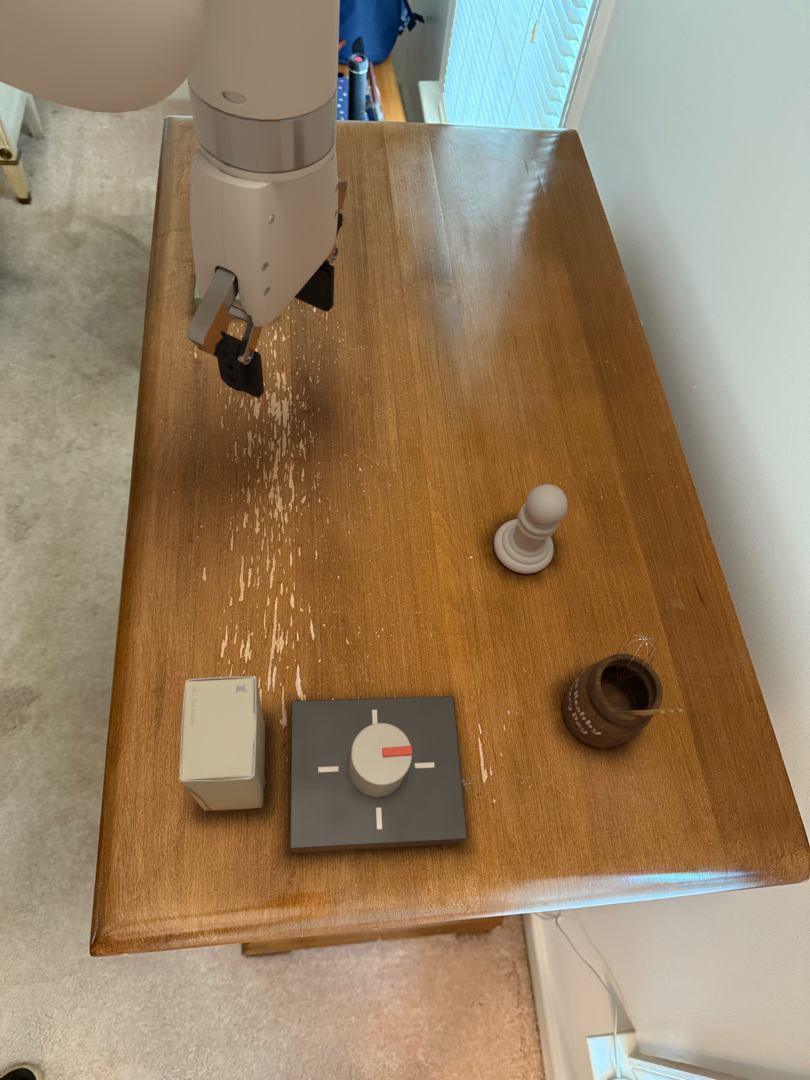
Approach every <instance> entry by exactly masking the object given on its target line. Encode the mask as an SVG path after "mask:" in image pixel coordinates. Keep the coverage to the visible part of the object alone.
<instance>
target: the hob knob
mask: <svg viewBox="0 0 810 1080" xmlns="http://www.w3.org/2000/svg"><path fill="white" fill-rule="evenodd" d="M411 761H412V746H411V744H410V742H409V740H408V738H407V736H406V735H405V734H404V733H403V732H402V731H401V730H400V729H399V728H397V727H395V726H393V725H391V724H386V723H376V724H372V725H370V726H367V727H366V728H364V729H363V730H362V731H361V732H360V733H359V734H358V735H357V736H356V738H355V740H354V742H353V745H352V749H351V754H350V759H349V775H350V778H351V781H352V783H353V784H354V786H355V787H356V788H357V789H358V790H359V791H360V792H362V793H364V794H366V795H368V796H372V797H382V796H386V795H388V794H390V793H392V792H393V791H395V790H396V789H397V788H398V787H399V785H400V784H401V782H402V780H403V778H404V777H405V775H406V773H407V771H408V769H409V767H410V764H411Z"/></svg>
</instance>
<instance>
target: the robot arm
mask: <svg viewBox="0 0 810 1080" xmlns="http://www.w3.org/2000/svg"><path fill="white" fill-rule="evenodd" d="M340 5H341V0H0V83H2V84H5V85H7V86H9V87H12V88H14V89H17V90H19V91H22V92H24V93H27V94H29V95H33V96H34V97H38V98H40V99H43V100H46V101H49V102H52V103H55V104H58V105H61V106H65V107H69V108H73V109H79V110H83V111H88V112H93V113H94V112H95V113H107V114H108V113H109V114H121V113H128V112H136V111H140V110H144V109H146V108H148V107H151V106H154V105H157V104H159V103H160V102H162V101H164V100H165V99H166V98H168V97H170V96H171V95H173V93H175V92H176V91H177V89H178V88H180V87H181V86H182V84H184V83H185V81H186V80H187V81H186V82H187V87H188V94H189V99H190V107H191V115H192V120H193V128H194V134H195V142H196V144H197V150H196V151H195V152H194V154H193V155H192V157H191V164H190V174H189V219H190V220H189V221H190V222H189V223H190V236H191V246H192V247H191V248H192V249H191V250H192V255H193V256H192V258H193V265H194V266H193V267H194V274H195V282H196V281H197V287H198V292H199V296H200V299H201V303H200V305H199V307H198V309H197V311H196V310H195V312H194V315H193V317H192V319H191V320H190V323H189V325H188V326H187V329H186V333H185V334H186V338H187V339H188V340H189V341H190V342H191V343H193V344H194V345H195V346H196V347H197V349H199V350H200V351H201V352H204V353H206V354H208V355H211V356H213V357H214V358H217V365H218V370H219V377H220V379H221V381H222V382H223V383H224V384H226V386H228V387H229V388H230V389H232V390H234V391H237V392H238V393H239V392H240V393H241V392H243V393H245V394H247V395H250V396H252V397H253V398H256V399H260V398H261V397H262V395H263V394H264V393H265V382H264V373H263V372H264V371H263V363H262V354H260V352H258V351H256V349H257V346H258V342H259V339H260V335H261V333H262V329H263V327H264V326H266V325H268V324H270V323H272V322H273V321H274V320H275V319H276V318H277V317H278V316H279V315H280V314H281V313H282V312H283V311H284V309H285V308H287V306H288V305H289V304H290V303H291V301H292V300H294V298H295V299H297V300H299V301H301V302H303V303H306V304H308V305H310V306H312V307H314V308H317V309H318V310H321V311H322V312H330V311H331V309H332V308H333V307H334V301H335V266H334V265H332V264H334V263H335V262H336V260H337V258H338V255H339V249H340V248H339V247H338V245H336V240H337V237H338V234H339V231H340V229H341V228H342V226H343V224H344V223H343V222H344V217H343V213H341V210H343V207H344V204H345V201H346V196H347V192H348V187H349V182H348V180H347V179H343V178H341V177H339V175H338V173H339V172H338V158H337V148H336V147H337V129H338V128H337V127H338V125H337V124H338V123H337V122H338V85H339V83H338V82H339V81H338V78H339V77H338V76H339V47H340V46H339V45H340V44H339V43H340V42H339V41H340V40H339V39H340V11H341V10H340V9H341V8H340V7H341V6H340ZM238 292H239V298H240V301H241V303H242V305H243V306H241V305H239V304H236V303H234V300H235V298H236V296H237V294H238ZM232 317H235V318H237V319H239V320H242V321H244V322H246V324H245V327H244V328H245V329H244V330H243V331H244V332H243V334H242V337H241V339H240V338H238V337H236V336H234V335H231V334H229V333H228V330H229V327H230V323H231V320H232Z"/></svg>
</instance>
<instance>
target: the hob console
mask: <svg viewBox="0 0 810 1080" xmlns="http://www.w3.org/2000/svg"><path fill="white" fill-rule="evenodd" d="M456 717H457V716H456V708H455V697H454V695H451V696H449V695H446V696H416V697H415V696H413V697H384V698H383V697H382V698H381V697H380V698H349V699H348V698H346V699H315V700H313V699H312V700H311V699H310V700H292V701H291V718H290V719H291V720H290V721H291V722H290V728H291V729H290V731H291V732H290V739H291V740H290V803H289V804H290V805H289V807H290V809H289V811H290V812H289V849H290V853H291V854H304V853H305V854H307V853H323V852H339V851H340V852H342V851H343V852H344V851H360V850H378V849H394V848H395V849H396V848H413V847H414V848H415V847H416V848H417V847H429V846H430V847H432V846H451V845H460V844H462V843H463V842H464V841H466V840H468V833H467V821H466V813H465V810H466V809H465V801H464V800H465V799H464V791H463V780H462V770H461V759H460V748H459V739H458V738H459V736H458V728H457V718H456ZM376 723H386V724H391V725H393V726H395V727H397V728H399V729H400V730H401V731H402V732H403V733H404V734H405V735H406V736H407V738H408V740H409V742H410V744H411V746H412V761H411V764H410V767H409V769H408V771H407V773H406V775H405V777H404V778H403V780H402V782H401V784H400V785H399V787H398V788H397V789H396V790H395V791H393V792H392V793H390V794H388V795H386V796H382V797H372V796H368V795H366V794H364V793H362V792H360V791H359V790H358V789H357V788H356V787H355V786H354V784H353V783H352V781H351V778H350V775H349V759H350V754H351V749H352V745H353V742H354V740H355V738H356V736H357V735H358V734H359V733H360V732H361V731H362V730H363V729H364V728H366V727H367V726H370V725H372V724H376Z"/></svg>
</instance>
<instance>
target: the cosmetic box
mask: <svg viewBox="0 0 810 1080" xmlns="http://www.w3.org/2000/svg"><path fill="white" fill-rule="evenodd" d="M184 683H185V684H184V692H183V699H182V700H183V701H182V714H181V729H180V747H179V774H178V778H179V782H180V783H181V784H182V785H183V787H185V790H187V791H188V793H189V794H190V795H191V797H192V798H193V799H194V800H195V802H197V804H198V805H199V806H200V808H201V809H202V810H203V811H205V812H206V811H230V810H232V811H234V810H250V809H251V810H253V809H261V808H263V806H264V800H265V799H264V797H265V772H266V770H265V769H266V723H265V717H264V711H263V706H262V702H261V697H260V695H261V694H260V689H259V686H258V684H259V683H258V679H257V676H255V675H254V676H253V675H252V676H221V677H220V676H219V677H218V676H217V677H201V678H200V677H199V678H188V679H186V680H185V682H184Z"/></svg>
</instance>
